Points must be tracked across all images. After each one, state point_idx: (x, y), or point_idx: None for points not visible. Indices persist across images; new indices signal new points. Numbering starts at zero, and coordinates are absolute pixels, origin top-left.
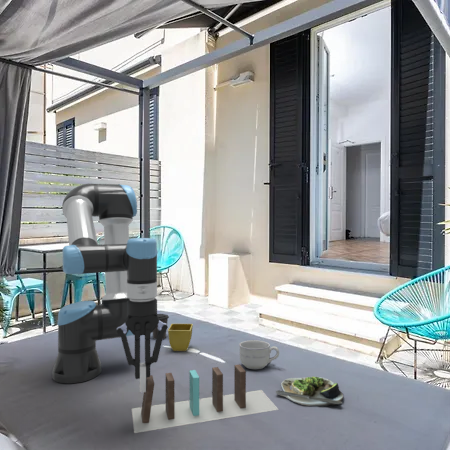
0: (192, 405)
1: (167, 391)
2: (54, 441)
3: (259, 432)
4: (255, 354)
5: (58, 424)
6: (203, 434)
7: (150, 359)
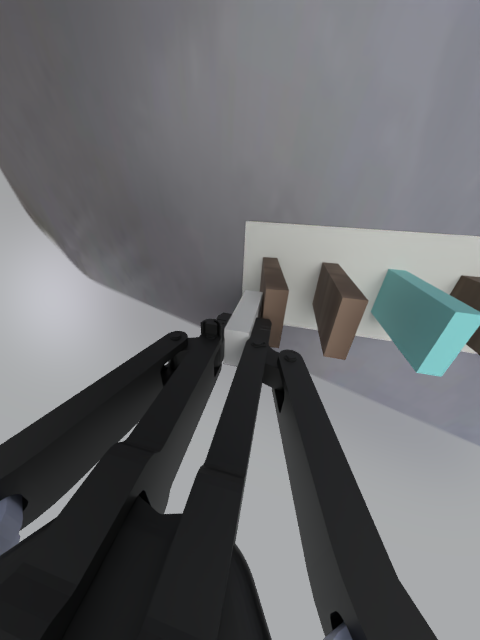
0: (381, 312)
1: (322, 320)
2: (122, 285)
3: (451, 400)
4: None
5: (107, 229)
6: (353, 364)
7: (263, 381)
